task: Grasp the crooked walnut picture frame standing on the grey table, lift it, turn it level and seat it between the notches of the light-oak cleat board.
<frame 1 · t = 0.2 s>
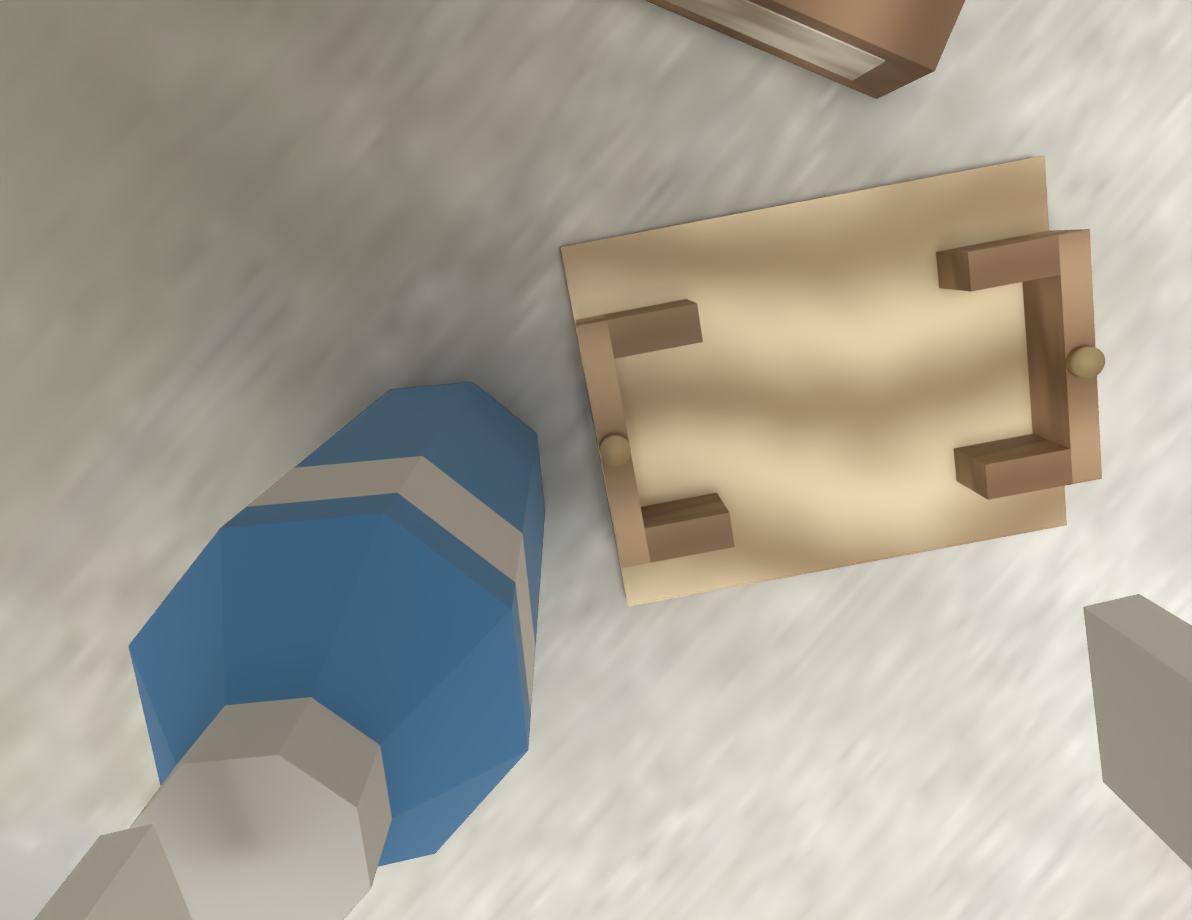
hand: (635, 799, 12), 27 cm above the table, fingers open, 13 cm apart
cleat board: (818, 389, 39), on the table
water bottle: (444, 480, 40), on the table
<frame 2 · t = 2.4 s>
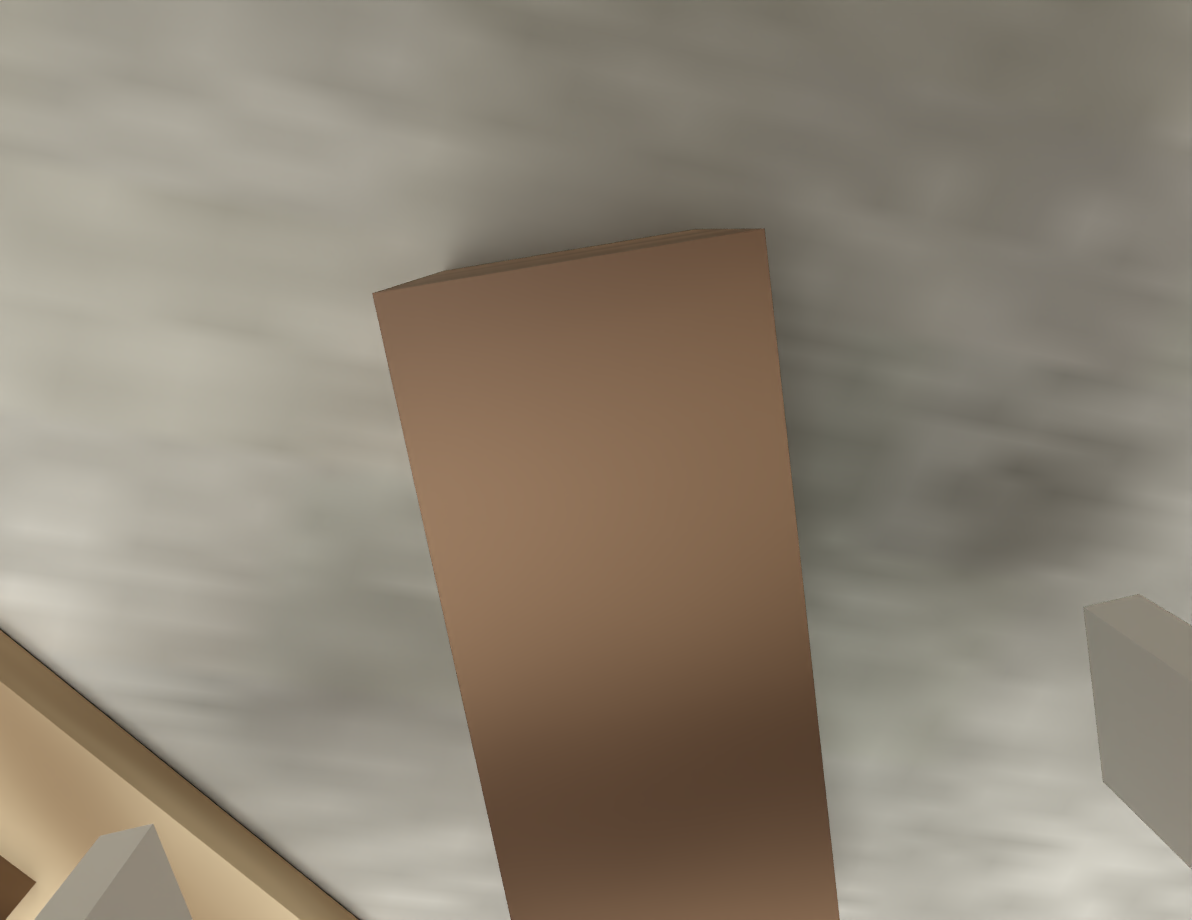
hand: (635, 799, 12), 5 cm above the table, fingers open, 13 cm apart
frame: (627, 607, 18), on the table
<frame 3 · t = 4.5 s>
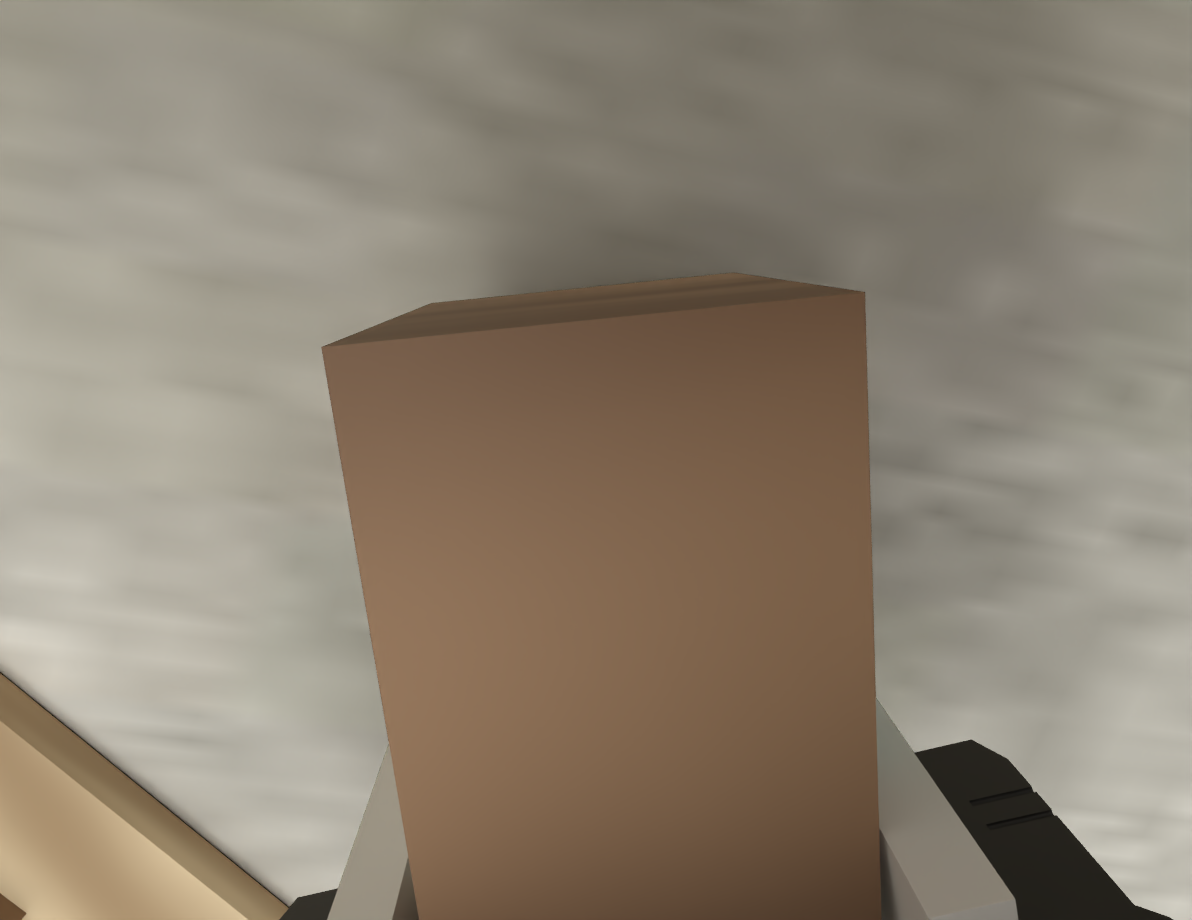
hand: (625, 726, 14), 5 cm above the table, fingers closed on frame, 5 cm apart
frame: (625, 713, 15), point 4 cm above the table, touching gripper
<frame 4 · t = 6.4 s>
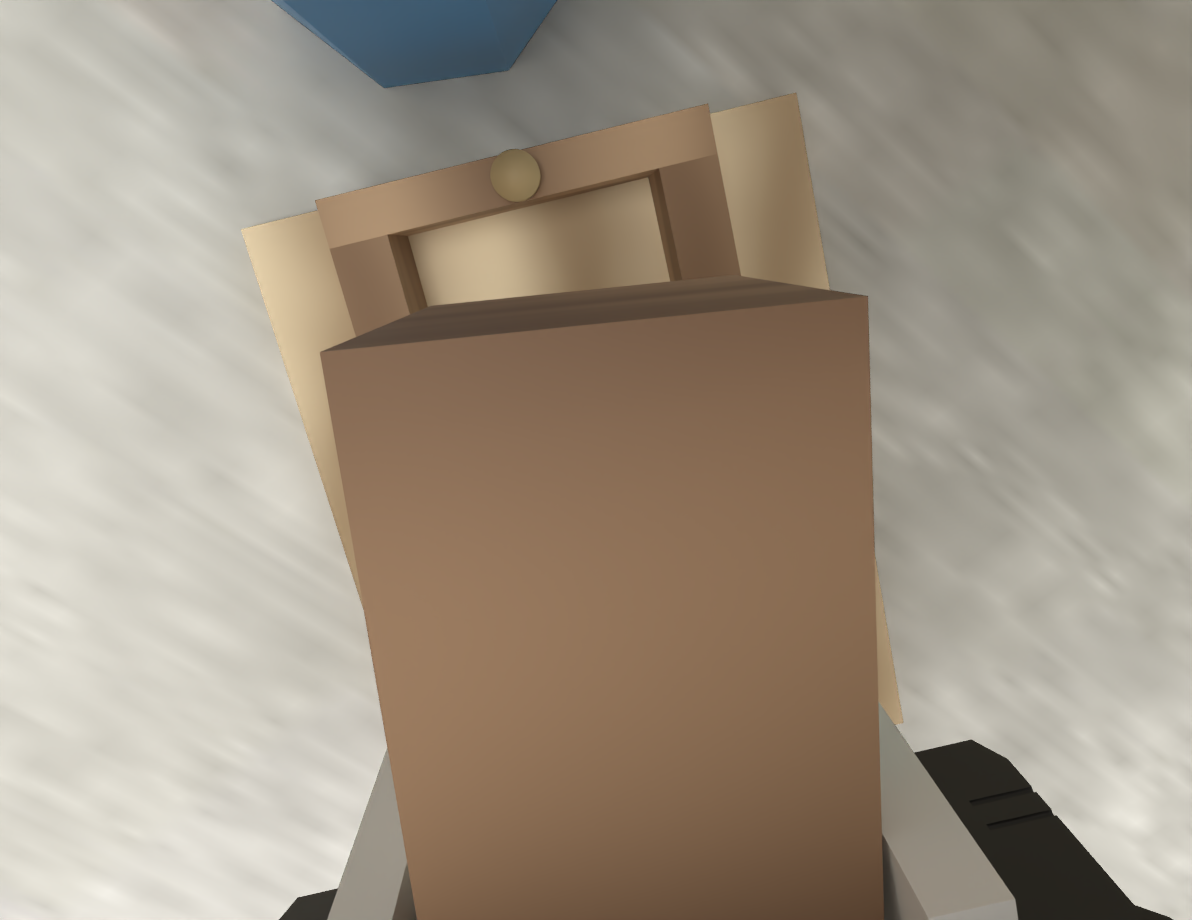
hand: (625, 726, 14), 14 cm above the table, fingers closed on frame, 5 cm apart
cleat board: (597, 487, 28), on the table
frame: (625, 717, 15), point 14 cm above the table, touching gripper
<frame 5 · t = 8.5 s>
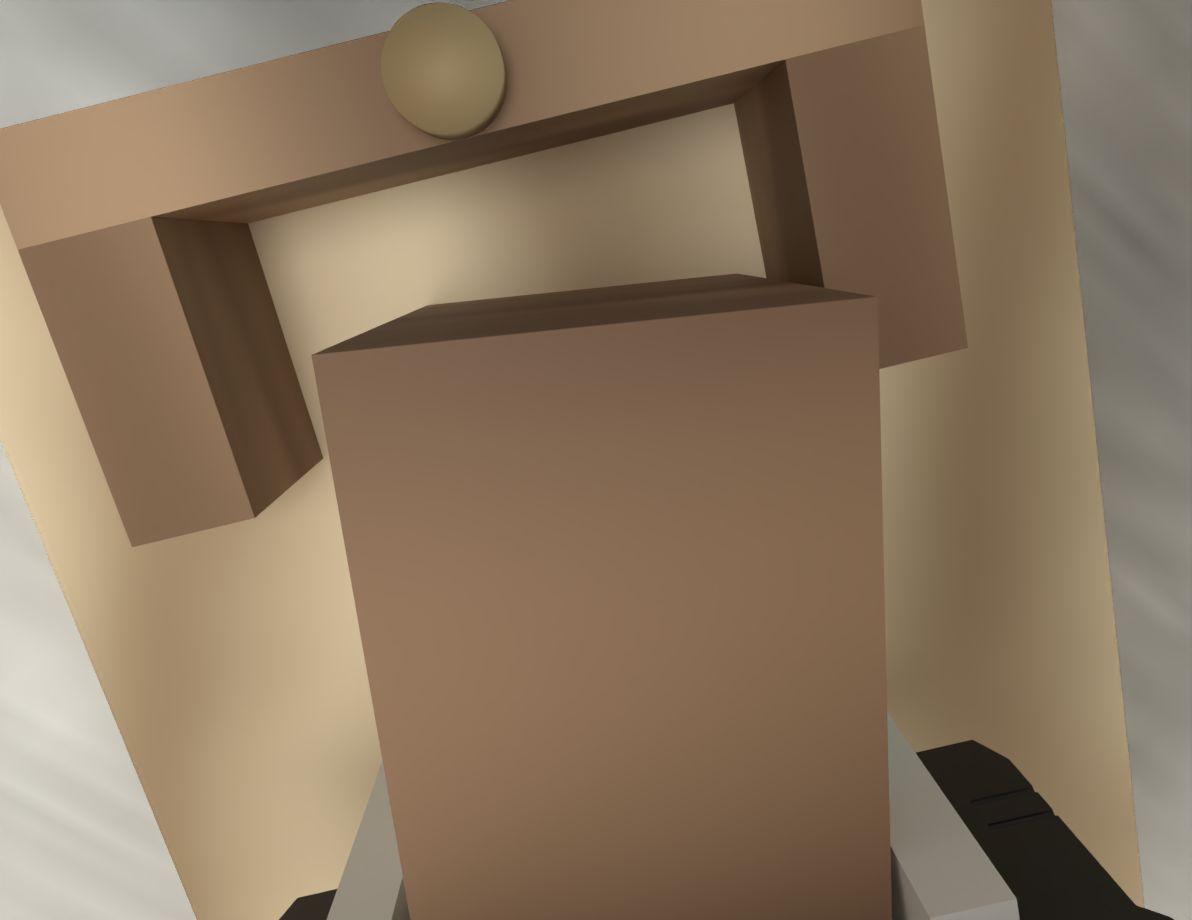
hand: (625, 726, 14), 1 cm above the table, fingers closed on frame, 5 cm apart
cleat board: (624, 683, 15), on the table
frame: (626, 722, 15), point 1 cm above the table, touching cleat board, gripper
when the fingers open (1 cm above the table, at t = 8.6 s): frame stays where it is, resting on cleat board.
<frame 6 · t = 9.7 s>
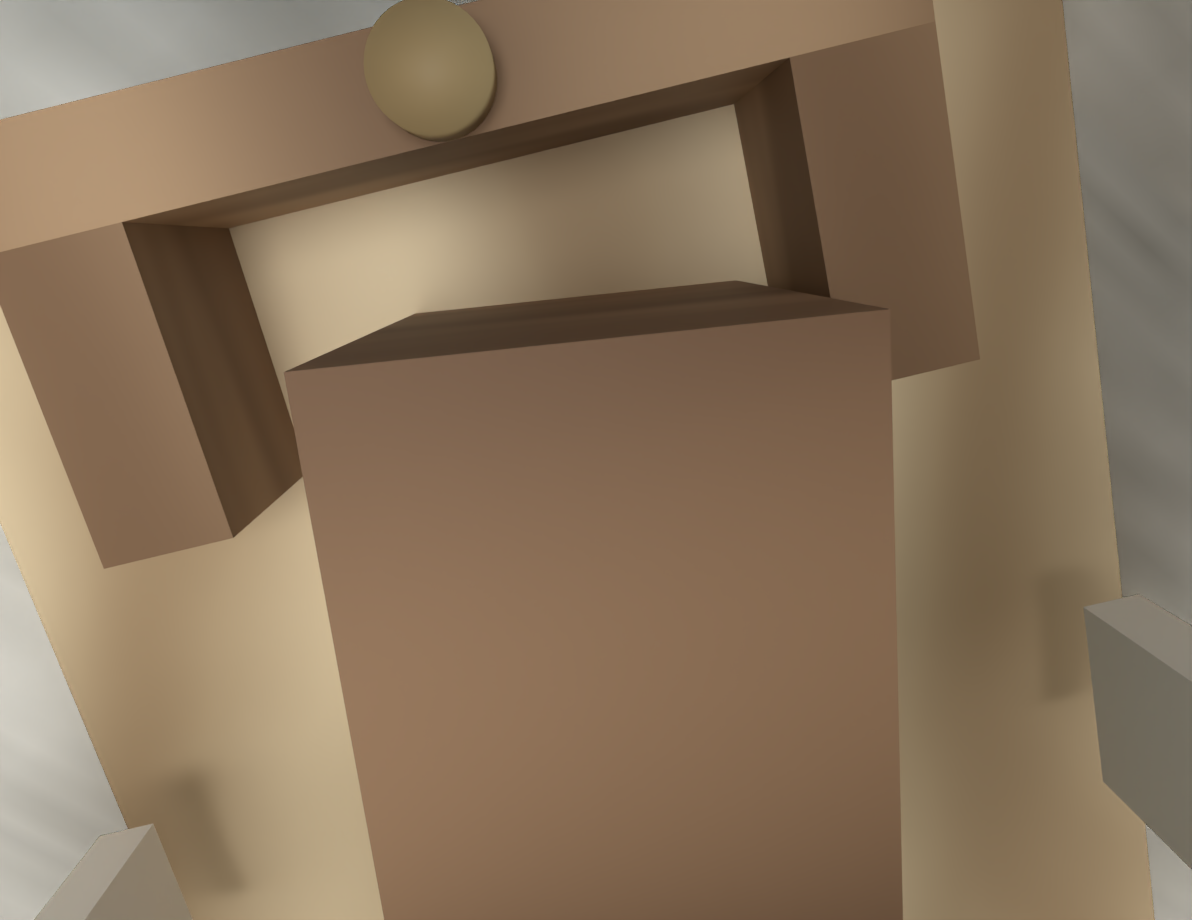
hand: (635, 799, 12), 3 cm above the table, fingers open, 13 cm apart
cleat board: (620, 702, 15), on the table
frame: (622, 744, 14), point 1 cm above the table, touching cleat board
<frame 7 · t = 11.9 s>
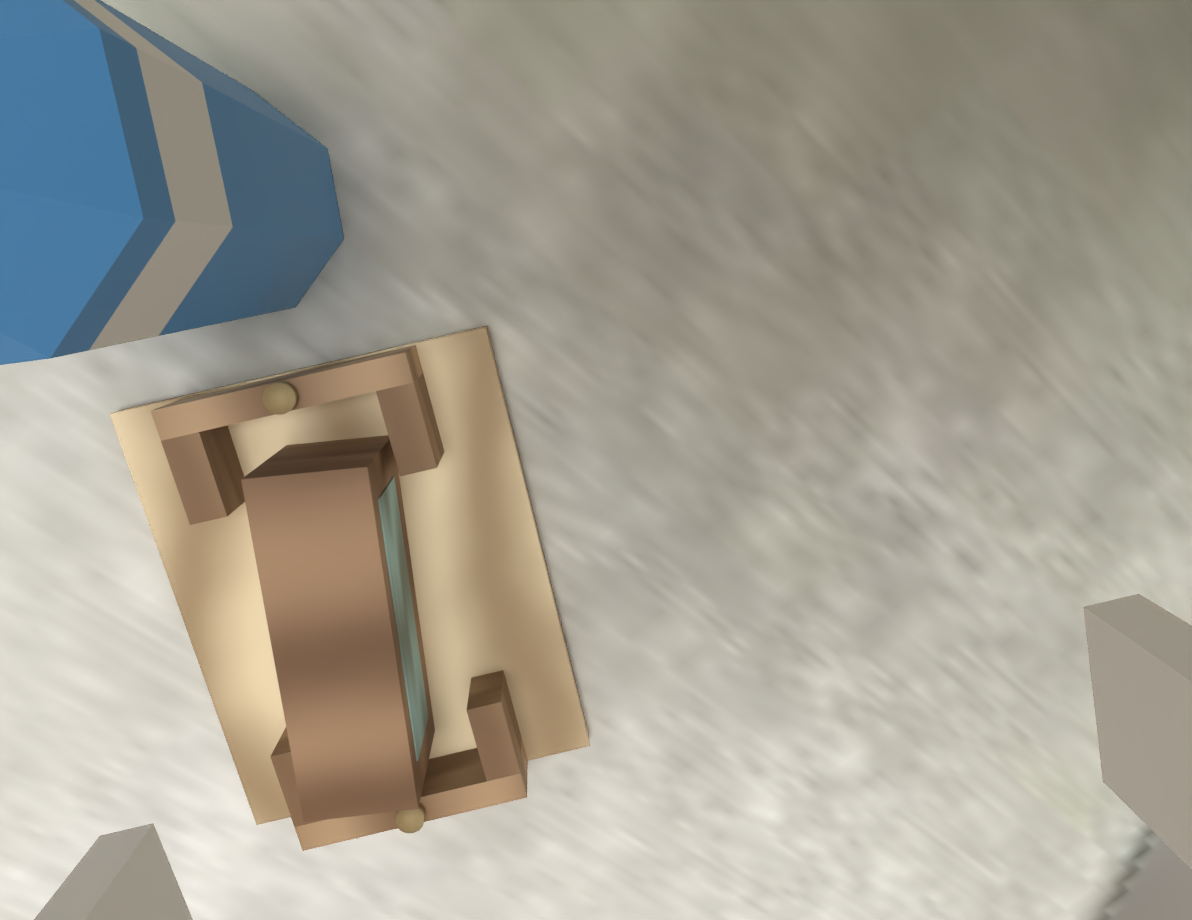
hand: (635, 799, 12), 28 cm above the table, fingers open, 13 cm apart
cleat board: (368, 582, 40), on the table
water bottle: (231, 207, 37), on the table
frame: (363, 593, 39), point 1 cm above the table, touching cleat board
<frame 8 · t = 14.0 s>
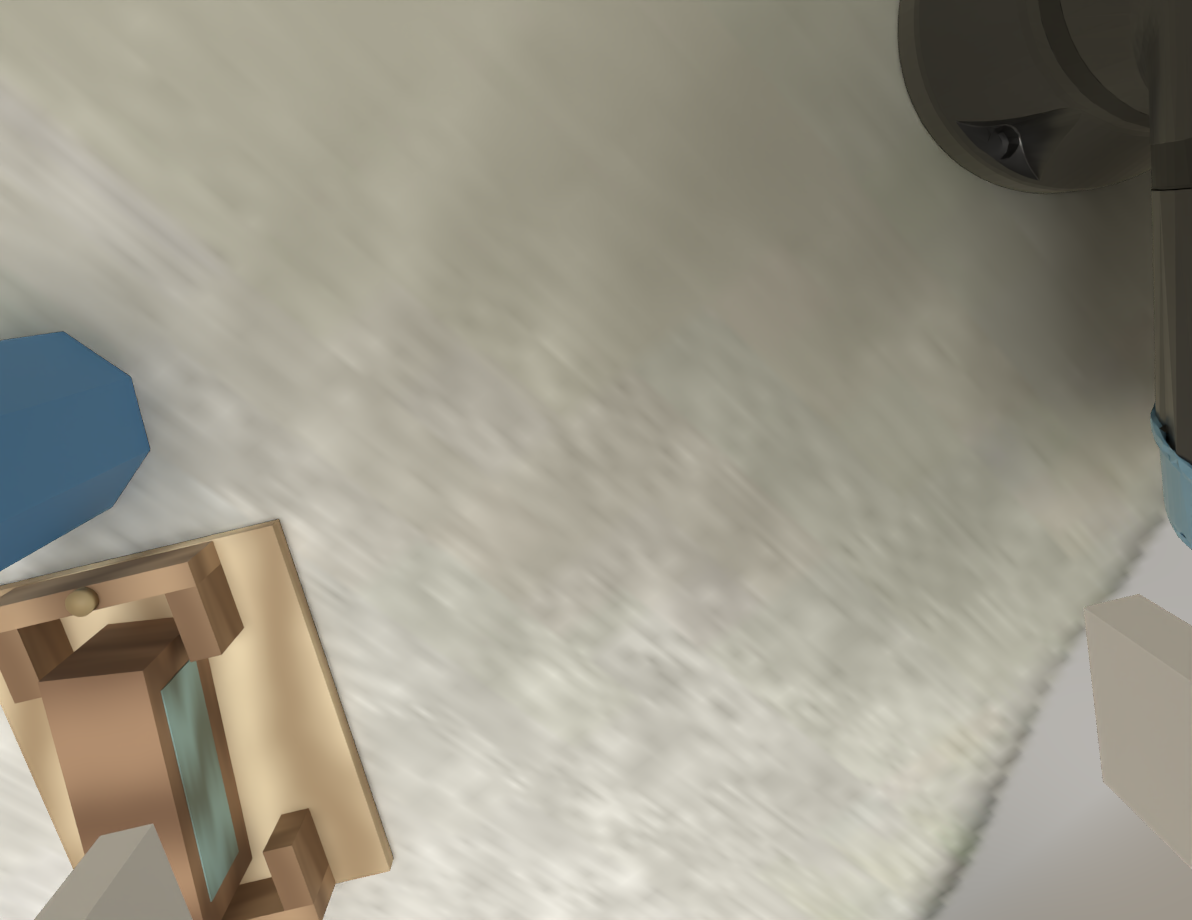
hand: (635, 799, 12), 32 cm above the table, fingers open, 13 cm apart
cleat board: (191, 732, 46), on the table
water bottle: (53, 425, 43), on the table
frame: (182, 745, 45), point 1 cm above the table, touching cleat board
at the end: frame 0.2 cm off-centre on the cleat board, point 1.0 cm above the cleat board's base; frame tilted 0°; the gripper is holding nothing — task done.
